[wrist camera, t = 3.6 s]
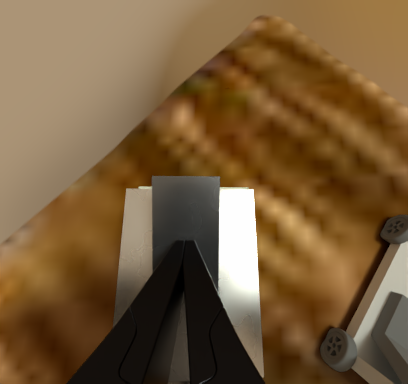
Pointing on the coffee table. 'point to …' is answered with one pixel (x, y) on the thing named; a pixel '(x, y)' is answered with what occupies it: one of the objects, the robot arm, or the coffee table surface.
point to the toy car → (378, 319)
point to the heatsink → (228, 262)
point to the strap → (185, 230)
